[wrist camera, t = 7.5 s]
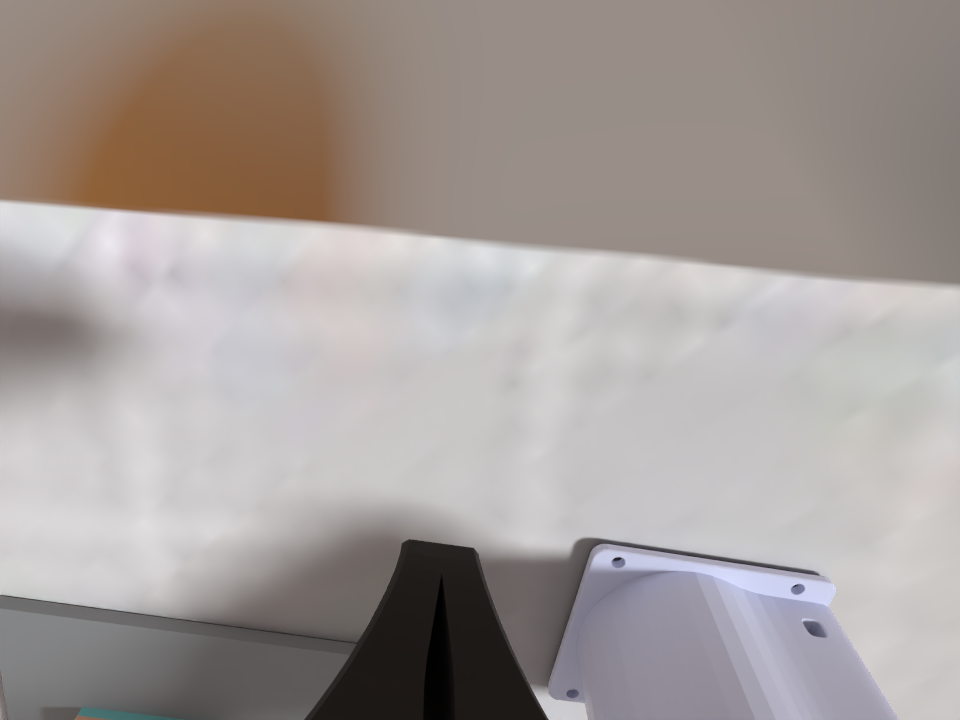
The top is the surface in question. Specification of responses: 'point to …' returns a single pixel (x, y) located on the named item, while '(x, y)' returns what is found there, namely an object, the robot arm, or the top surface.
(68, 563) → the top surface
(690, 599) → the robot arm
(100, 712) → the tile
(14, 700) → the board
